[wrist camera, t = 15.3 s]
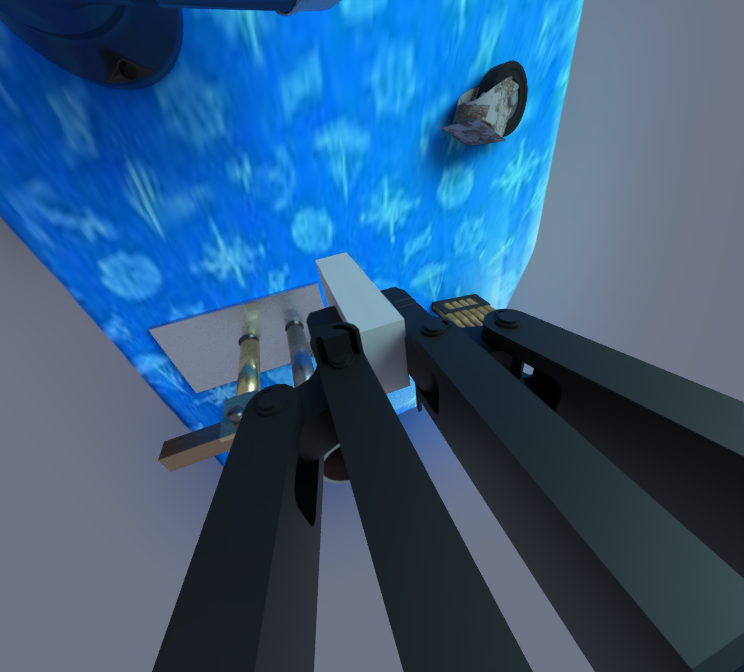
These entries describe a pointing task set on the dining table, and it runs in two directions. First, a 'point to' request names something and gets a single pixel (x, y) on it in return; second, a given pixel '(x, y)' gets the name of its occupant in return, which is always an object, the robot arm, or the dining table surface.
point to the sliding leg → (242, 388)
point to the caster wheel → (491, 106)
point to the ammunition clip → (463, 310)
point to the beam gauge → (235, 354)
